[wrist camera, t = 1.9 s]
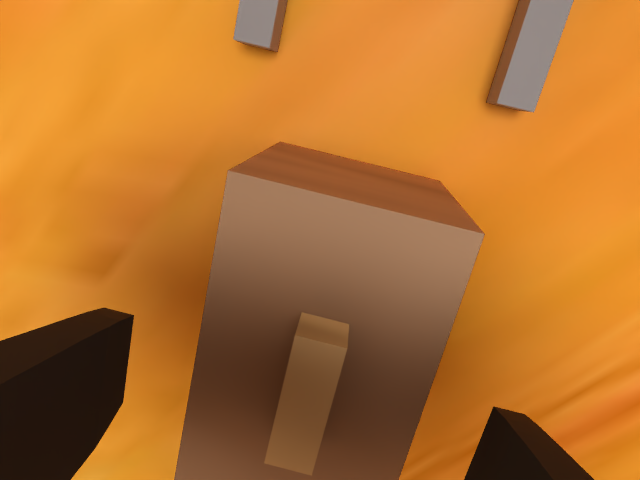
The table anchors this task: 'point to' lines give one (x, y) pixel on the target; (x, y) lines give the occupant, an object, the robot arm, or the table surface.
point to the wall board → (514, 66)
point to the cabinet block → (322, 319)
